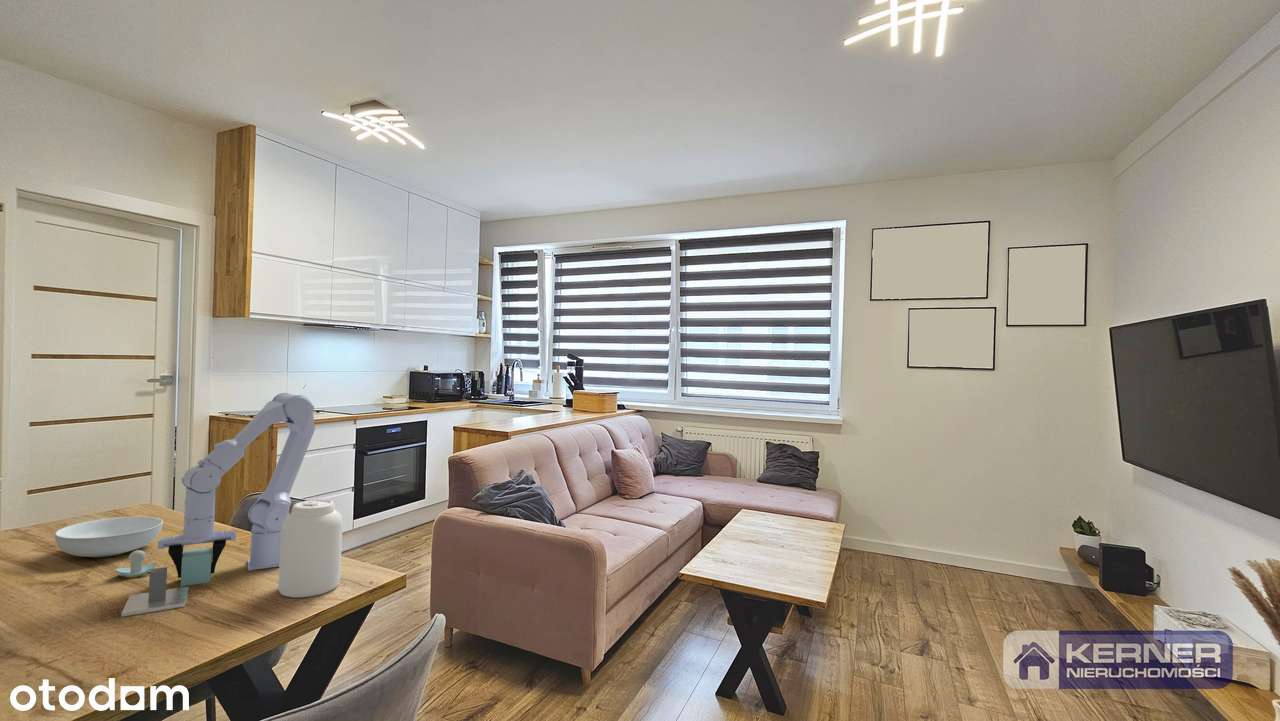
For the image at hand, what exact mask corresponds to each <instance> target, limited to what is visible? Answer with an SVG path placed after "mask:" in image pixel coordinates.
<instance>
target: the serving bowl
mask: <svg viewBox="0 0 1280 721" xmlns="http://www.w3.org/2000/svg"><path fill="white" fill-rule="evenodd" d="M163 524H164V521H163V519H161V518H159V517H153V516H121V517H119V516H118V517H109V518H102V519H95V520H88V521H83V522H79V523H75V524H72V525H68V526H67V525H66V526H65V527H62V528H60V529H58V530H57V531H55V533H54V538H55V542H56V545H57V547H58V548H59V549H60V550H61V551H63V552H64V553H66V554H67V555H72V556H76V557H88V558H89V557H90V558H107V557H108V558H109V557H113V556H114V557H115V556H120V555H122V554H123V555H124V554H126V553H129V552H133V551H136V550H139V549H141V548H143V547H145V546H147V545H148V544H150V543H152V542H153V541H154V540H155V539H156V538H157V537H158V535H159V534H160V533H161V531H162V528H163Z"/></svg>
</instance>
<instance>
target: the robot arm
mask: <svg viewBox="0 0 1280 721" xmlns="http://www.w3.org/2000/svg"><path fill="white" fill-rule="evenodd" d="M314 410H315V406H314V404H313V403H312V402H311V400H310V399H309V398H308V397H307V396H306V395H305V396H304V395H303V394H302V395H301V394H291V393H288V392H281V393H279V394H276V395H275V396H274V397H273V398H272V400H270V401H268V402H267V403H265V405H264V406H263V408H262V409H261V410H260V411H259V412H258V413H257V414H256V415H255V416H254V417H253V418H252V419H250V421H249V422H248V423H247V424H246V425H245V426H244V427H243V428H242V429H241V430H240V431H239V432H238V433H237V434H236V436H235V437H233V439H231V438H230V439H225V440H223V441H222V442H217V443H215V444H214V445H213V448H214V449H213V450H212V451H210V452H209V454H207V455H206V456H205V457H204V458H203V459H199V460H198V461H197V462H196V463H197V465H194V466H191V467H189V469H187V470H186V471H185V473H183V477H181V484H182V485H183V486H184V487H185V497H184V510H183V511H184V512H183V513H184V514H183V534H181V535H175V536H168V537H161V538H158V540H157V550H162V549H165V548H168V550H167V553H168V555H169V556H170V558H171V559H172V561H173V564H174V566H175V569H176V572H177V579H181V568H182V556H183V553H184V546H191V545H198V544H199V545H200V544H209V543H212V547H213V550H212V565H211V575H212V574H214V573H215V571H216V567H217V566H216V565H217V564H218V560H219V558H220V556H221V554H222V553H223V551H224V549H225V547H226V543H227V541H230V542H233V541H236V539H237V530H236V529H235V530H222V531H221V530H219V531H218V530H217V531H215V514H216V512H215V511H216V510H215V509H216V488H217V487H219V486H220V484H221V482H222V477H223V476H225V474H226V473H227V472H228V471H229V470H231V469H232V468H233V466H235V465H236V464H237V463H238V462H239V461H240V460H241V459H242V458H243V457H244V456H245V454H246V453H245V452H246V447H248V445H250V444H251V443H252V442H253V441H254V440H256V438H258V437H259V436H260V435H261V434H262V433H264V432H265V431H266V430H268V429H269V427H271V426H272V425H274V424H279V423H285V424H286V426H287V428H288V430H289V434H288V436H287V438H286V441H285V444H284V446H283V448H282V451H281V453H280V456H279V459H278V461H277V463H276V465H275V468H274V469H273V472H272V476H271V477H270V480H269V483H268V485H267V487H266V489H265V490H264V491H262V492H261V493H260V495H258V498H257V500H256V501H255V502H254V504H252V506H250V508H249V510H248V513H247V518H248V520H249V521H250V522H251V523H252V526H251V531H250V532H251V533H250V554H249V558H248V560H247V571H256V570H263V569H269V568H277V567H279V563H280V543H281V527H282V524H283V521H284V519H285V518H286V517H287V516H288V515H289V514H290V508H291V505H292V501H291V500H292V499H291V497H290V493H291V491H292V488H293V486H294V483H295V481H296V478H297V476H298V473H299V471H300V468H301V466H302V463H303V461H304V458H305V455H306V453H307V450H308V448H309V445H310V443H311V441H312V438H313V436H314V433H315V429H316V426H315V418H314Z"/></svg>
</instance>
